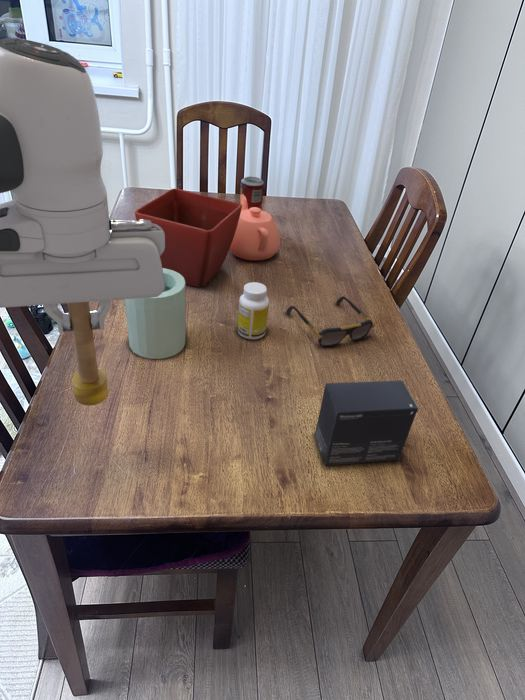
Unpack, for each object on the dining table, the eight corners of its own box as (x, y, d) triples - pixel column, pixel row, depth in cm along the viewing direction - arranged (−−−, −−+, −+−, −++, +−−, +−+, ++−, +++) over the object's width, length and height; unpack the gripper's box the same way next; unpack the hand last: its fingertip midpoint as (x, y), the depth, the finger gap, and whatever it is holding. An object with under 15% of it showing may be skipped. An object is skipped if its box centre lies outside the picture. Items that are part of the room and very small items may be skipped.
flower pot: (239, 265, 128) (243, 203, 118) (208, 298, 114) (210, 231, 104) (174, 248, 133) (173, 187, 122) (136, 278, 118) (132, 212, 108)
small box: (385, 430, 85) (403, 379, 78) (400, 461, 80) (421, 409, 72) (312, 434, 83) (325, 381, 75) (323, 466, 77) (337, 413, 70)
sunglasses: (336, 304, 117) (340, 286, 114) (373, 339, 107) (379, 321, 104) (285, 313, 112) (288, 295, 109) (319, 352, 101) (323, 333, 98)
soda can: (265, 219, 154) (269, 180, 147) (248, 224, 150) (251, 184, 143) (250, 212, 158) (253, 173, 151) (234, 216, 154) (236, 177, 147)
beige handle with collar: (74, 407, 64) (56, 305, 55) (74, 386, 68) (57, 286, 58) (109, 403, 66) (97, 303, 56) (107, 382, 69) (96, 283, 59)
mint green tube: (132, 362, 93) (126, 300, 85) (126, 328, 101) (121, 269, 93) (189, 355, 96) (190, 295, 88) (180, 323, 105) (179, 265, 96)
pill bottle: (266, 326, 107) (272, 282, 100) (264, 342, 102) (269, 297, 96) (239, 322, 107) (242, 278, 101) (235, 338, 102) (238, 293, 96)
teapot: (215, 234, 142) (216, 193, 134) (263, 232, 146) (267, 192, 139) (236, 270, 126) (239, 226, 118) (289, 266, 130) (296, 223, 123)
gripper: (160, 208, 57) (163, 308, 65) (-37, 211, 51) (-7, 320, 59) (169, 231, 52) (170, 335, 61) (-47, 237, 46) (-13, 352, 55)
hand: (81, 328), depth 60 cm, fingers closed on beige handle with collar, 2 cm apart
